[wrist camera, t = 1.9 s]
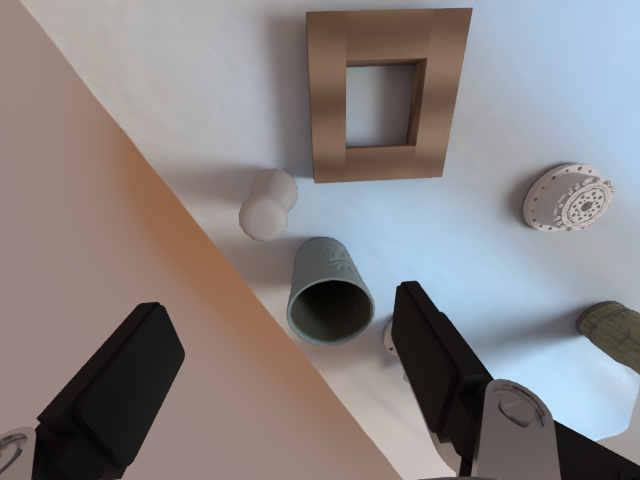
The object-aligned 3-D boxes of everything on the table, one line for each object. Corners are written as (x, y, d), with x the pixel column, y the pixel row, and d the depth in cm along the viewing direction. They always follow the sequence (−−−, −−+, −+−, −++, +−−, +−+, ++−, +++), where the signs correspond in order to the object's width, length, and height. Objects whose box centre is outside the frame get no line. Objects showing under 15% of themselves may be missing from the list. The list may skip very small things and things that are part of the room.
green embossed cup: (295, 228, 35) (290, 274, 24) (361, 235, 36) (386, 282, 25) (289, 284, 39) (283, 345, 28) (349, 289, 40) (365, 349, 29)
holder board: (430, 172, 32) (441, 176, 30) (313, 178, 32) (314, 183, 29) (455, 20, 25) (472, 7, 23) (306, 24, 25) (306, 11, 22)
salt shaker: (274, 216, 34) (257, 263, 22) (246, 183, 32) (211, 217, 20) (307, 192, 33) (308, 229, 21) (280, 156, 30) (264, 175, 19)
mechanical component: (578, 146, 32) (510, 196, 35) (617, 149, 28) (536, 205, 31) (598, 198, 36) (534, 240, 38) (635, 207, 32) (561, 253, 34)
